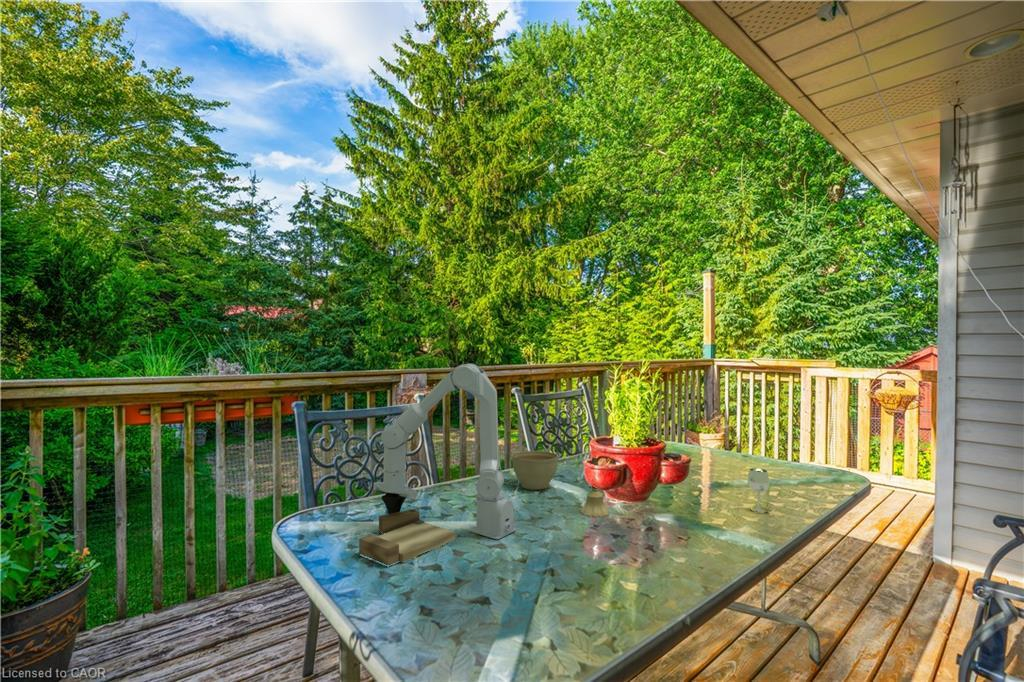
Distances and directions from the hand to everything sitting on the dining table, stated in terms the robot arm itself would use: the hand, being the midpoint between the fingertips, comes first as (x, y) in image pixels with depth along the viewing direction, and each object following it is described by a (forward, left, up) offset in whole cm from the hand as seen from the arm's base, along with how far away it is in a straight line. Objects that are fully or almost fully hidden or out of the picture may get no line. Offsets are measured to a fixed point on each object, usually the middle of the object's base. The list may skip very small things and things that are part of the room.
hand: (394, 521), depth 131 cm
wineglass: (-75, -74, -2) cm, 106 cm away
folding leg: (-3, +1, -1) cm, 3 cm away
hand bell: (-37, -43, -2) cm, 57 cm away
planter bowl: (-8, -55, -2) cm, 56 cm away
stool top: (-13, +7, -2) cm, 14 cm away
